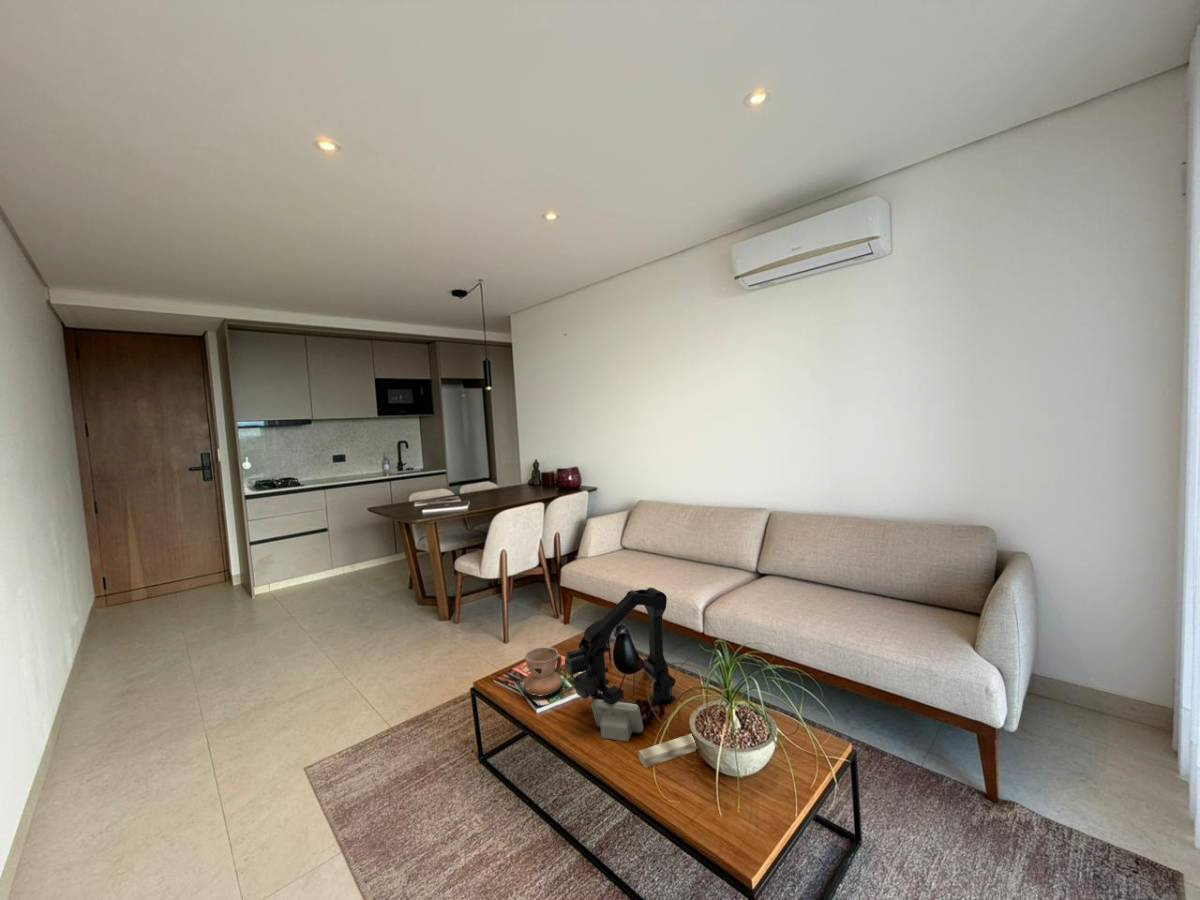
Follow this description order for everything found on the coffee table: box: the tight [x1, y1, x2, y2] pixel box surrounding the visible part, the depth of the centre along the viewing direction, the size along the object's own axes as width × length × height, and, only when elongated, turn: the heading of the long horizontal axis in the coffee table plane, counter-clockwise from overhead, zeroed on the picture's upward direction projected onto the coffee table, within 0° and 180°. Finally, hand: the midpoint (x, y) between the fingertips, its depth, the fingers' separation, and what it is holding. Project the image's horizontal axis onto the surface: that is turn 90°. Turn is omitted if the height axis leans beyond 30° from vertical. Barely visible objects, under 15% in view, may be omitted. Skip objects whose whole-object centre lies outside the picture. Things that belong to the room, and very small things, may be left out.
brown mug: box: [522, 646, 563, 695], centre depth 185 cm, size 18×14×14 cm
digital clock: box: [590, 699, 644, 743], centre depth 157 cm, size 16×9×11 cm, turn 60°
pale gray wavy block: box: [638, 733, 697, 769], centre depth 145 cm, size 18×4×3 cm, turn 111°
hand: (599, 711), depth 163 cm, fingers closed
